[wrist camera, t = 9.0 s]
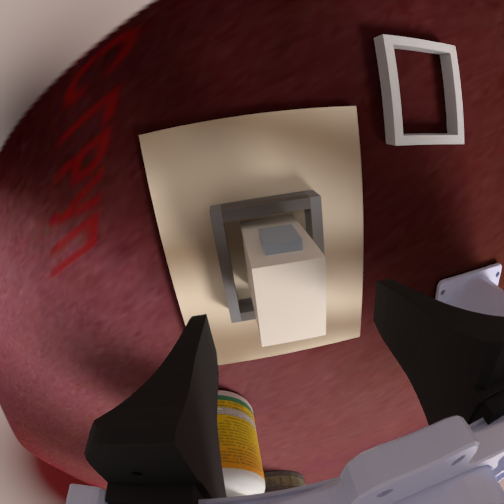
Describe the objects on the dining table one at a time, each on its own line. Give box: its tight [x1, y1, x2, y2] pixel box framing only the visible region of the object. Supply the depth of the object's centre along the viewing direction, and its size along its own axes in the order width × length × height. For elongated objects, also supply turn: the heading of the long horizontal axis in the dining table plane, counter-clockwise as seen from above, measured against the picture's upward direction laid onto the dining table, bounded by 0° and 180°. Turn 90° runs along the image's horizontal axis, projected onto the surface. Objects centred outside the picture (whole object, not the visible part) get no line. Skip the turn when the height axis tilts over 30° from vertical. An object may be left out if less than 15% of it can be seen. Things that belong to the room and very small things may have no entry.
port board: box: [139, 106, 363, 365], centre depth 19 cm, size 16×12×2 cm
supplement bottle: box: [217, 390, 265, 497], centre depth 20 cm, size 6×6×11 cm
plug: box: [240, 214, 326, 347], centre depth 16 cm, size 4×3×6 cm, turn 7°
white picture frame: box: [374, 34, 464, 146], centre depth 16 cm, size 7×6×1 cm
